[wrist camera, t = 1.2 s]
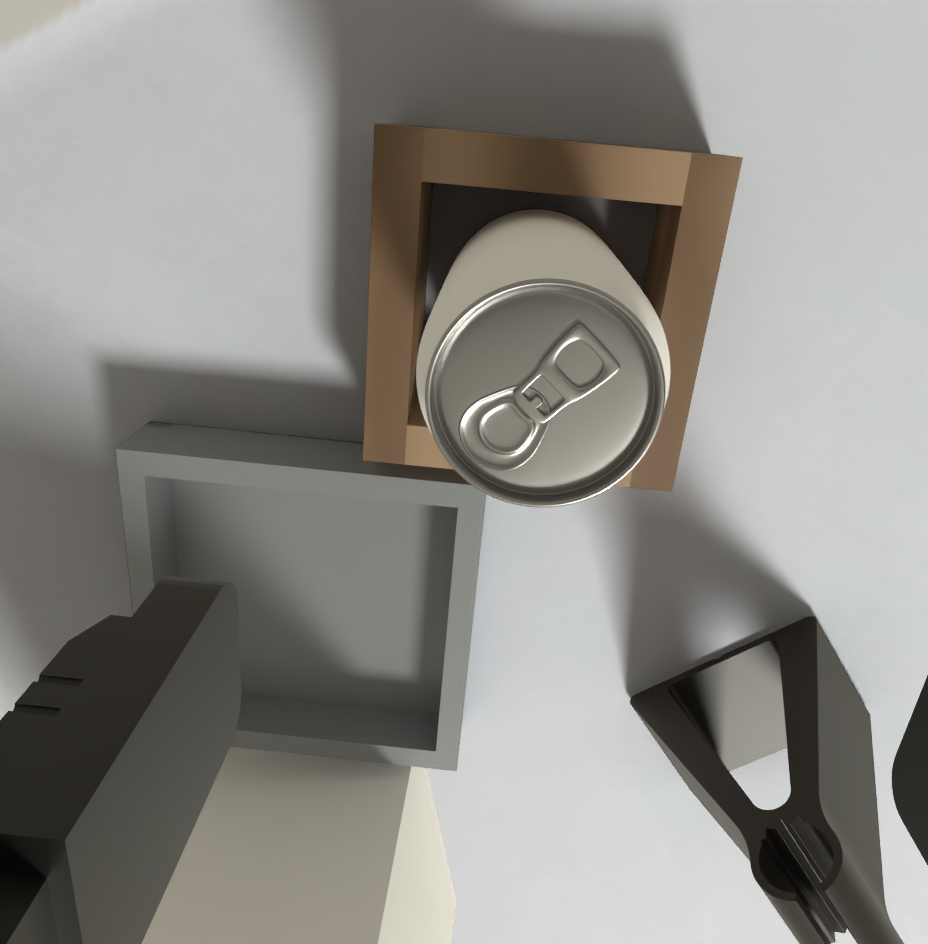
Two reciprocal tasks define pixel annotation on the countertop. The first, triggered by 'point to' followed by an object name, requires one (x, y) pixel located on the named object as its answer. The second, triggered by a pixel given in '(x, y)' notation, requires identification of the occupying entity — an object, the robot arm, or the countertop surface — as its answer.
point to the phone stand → (811, 775)
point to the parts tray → (318, 582)
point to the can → (542, 363)
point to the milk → (311, 857)
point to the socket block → (545, 171)
